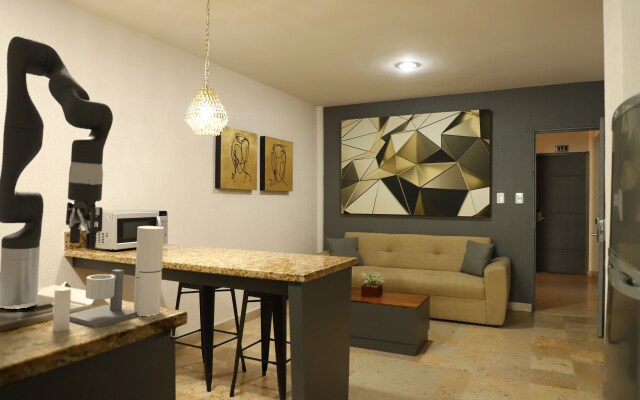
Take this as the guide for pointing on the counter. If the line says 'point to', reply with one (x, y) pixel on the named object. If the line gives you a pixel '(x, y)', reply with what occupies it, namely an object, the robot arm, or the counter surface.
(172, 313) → the counter surface
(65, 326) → the dowel
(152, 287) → the cylindrical container
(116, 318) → the cup bracket
